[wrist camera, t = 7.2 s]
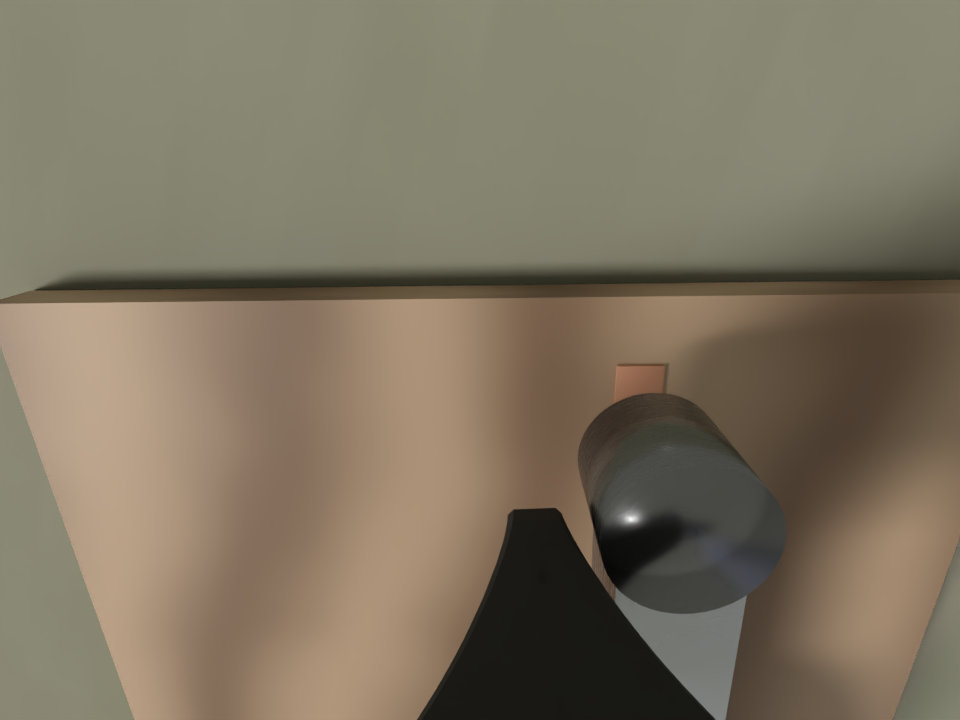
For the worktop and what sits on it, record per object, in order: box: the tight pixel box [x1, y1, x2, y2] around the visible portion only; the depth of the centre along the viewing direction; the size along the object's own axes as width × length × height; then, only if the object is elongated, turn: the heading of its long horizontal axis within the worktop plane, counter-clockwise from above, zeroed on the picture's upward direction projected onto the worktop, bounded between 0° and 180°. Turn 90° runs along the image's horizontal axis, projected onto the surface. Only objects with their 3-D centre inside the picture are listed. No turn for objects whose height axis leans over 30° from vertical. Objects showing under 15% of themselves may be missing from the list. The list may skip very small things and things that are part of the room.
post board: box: [0, 280, 960, 720], centre depth 15 cm, size 22×22×3 cm
